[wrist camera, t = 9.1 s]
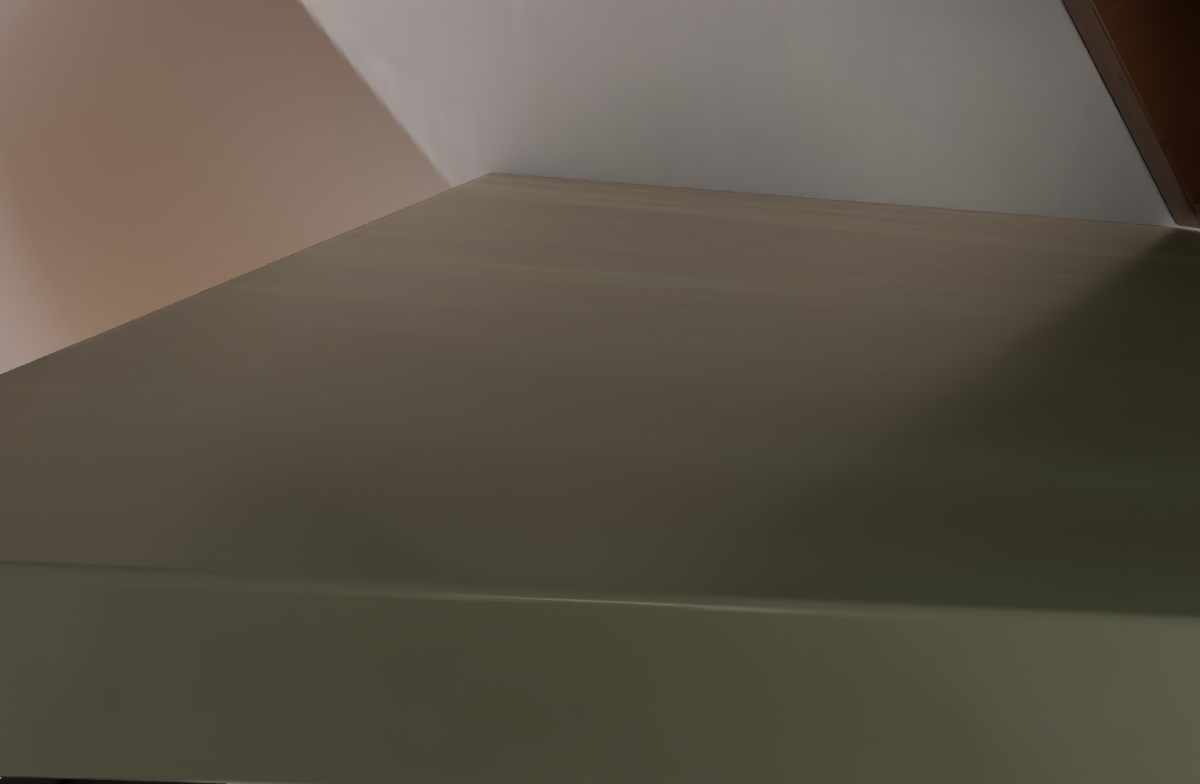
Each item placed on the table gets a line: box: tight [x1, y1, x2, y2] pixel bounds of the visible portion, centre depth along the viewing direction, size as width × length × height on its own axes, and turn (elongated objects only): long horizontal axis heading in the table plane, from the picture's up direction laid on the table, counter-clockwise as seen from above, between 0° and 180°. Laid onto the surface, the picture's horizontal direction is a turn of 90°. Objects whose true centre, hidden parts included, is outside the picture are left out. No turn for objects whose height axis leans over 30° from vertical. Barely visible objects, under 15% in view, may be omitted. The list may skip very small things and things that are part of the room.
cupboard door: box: [0, 173, 1200, 784], centre depth 15 cm, size 7×26×24 cm, turn 86°
